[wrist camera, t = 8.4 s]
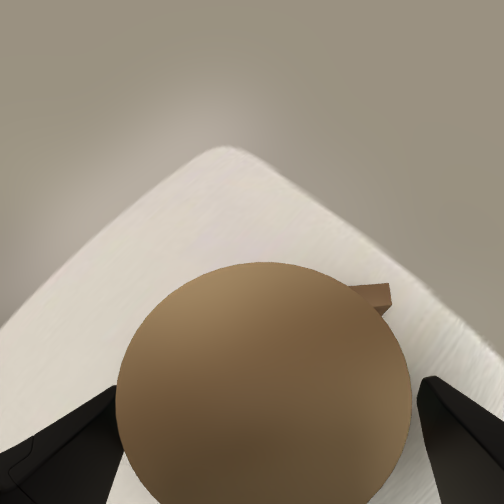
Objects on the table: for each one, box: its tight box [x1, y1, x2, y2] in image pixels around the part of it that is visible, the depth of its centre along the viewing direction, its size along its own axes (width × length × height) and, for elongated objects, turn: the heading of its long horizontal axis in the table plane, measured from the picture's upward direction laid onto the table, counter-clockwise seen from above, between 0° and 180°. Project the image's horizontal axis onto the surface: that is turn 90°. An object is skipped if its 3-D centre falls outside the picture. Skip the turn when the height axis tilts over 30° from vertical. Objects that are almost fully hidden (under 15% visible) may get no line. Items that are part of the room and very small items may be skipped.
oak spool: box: [116, 262, 412, 504], centre depth 11 cm, size 6×6×13 cm
